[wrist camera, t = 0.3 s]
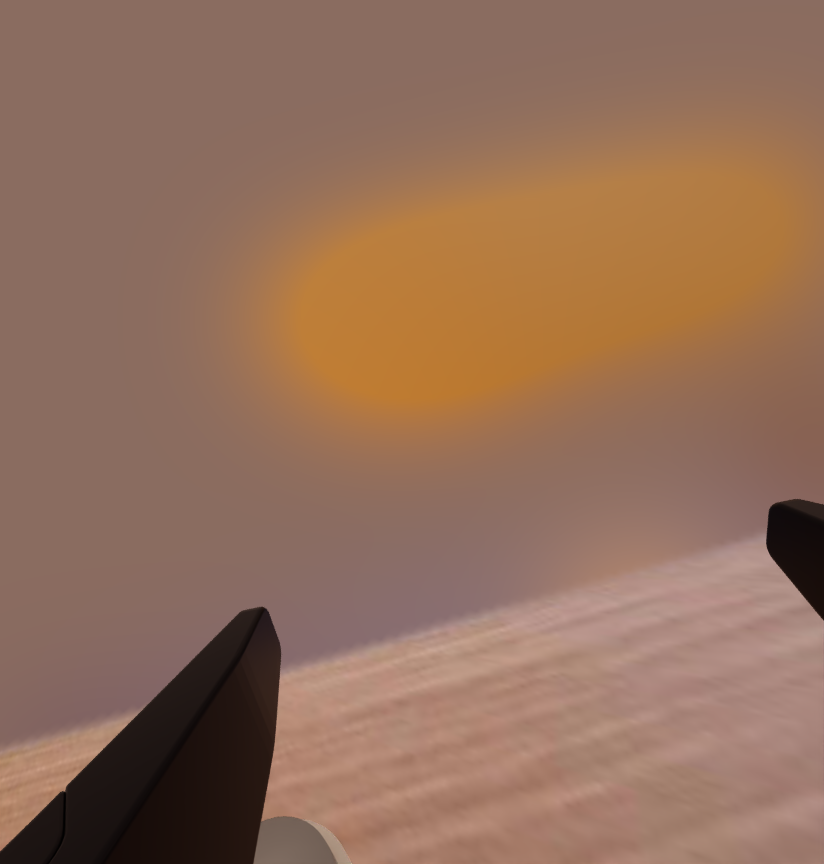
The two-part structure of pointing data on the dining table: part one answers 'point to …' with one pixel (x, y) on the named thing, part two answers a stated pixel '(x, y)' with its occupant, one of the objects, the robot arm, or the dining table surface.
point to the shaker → (297, 843)
